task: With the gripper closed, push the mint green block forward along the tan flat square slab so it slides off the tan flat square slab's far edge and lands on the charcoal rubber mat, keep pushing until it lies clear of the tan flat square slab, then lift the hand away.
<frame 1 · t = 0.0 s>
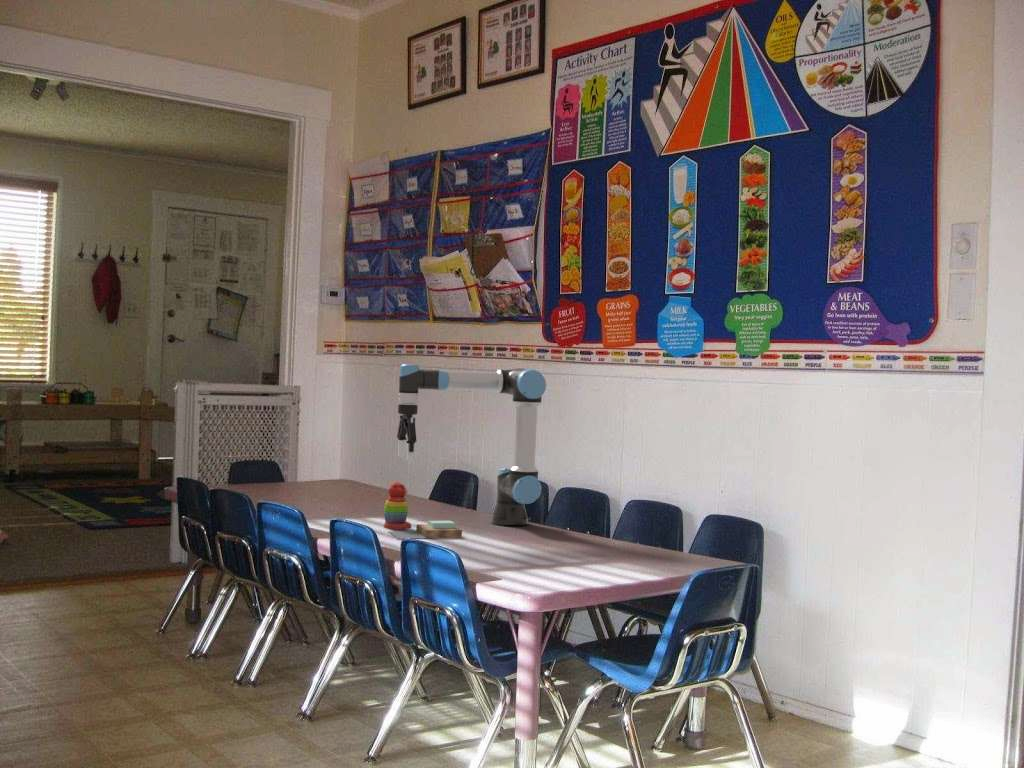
hand: (405, 458, 428), 28 cm above the table, tool pointing down, fingers open, 13 cm apart
mint green block: (441, 527, 422), point 3 cm above the table, touching tan flat square slab
tan flat square slab: (438, 534, 422), on the table
mat: (407, 535, 417), on the table
stacking bear: (396, 527, 435), on the table
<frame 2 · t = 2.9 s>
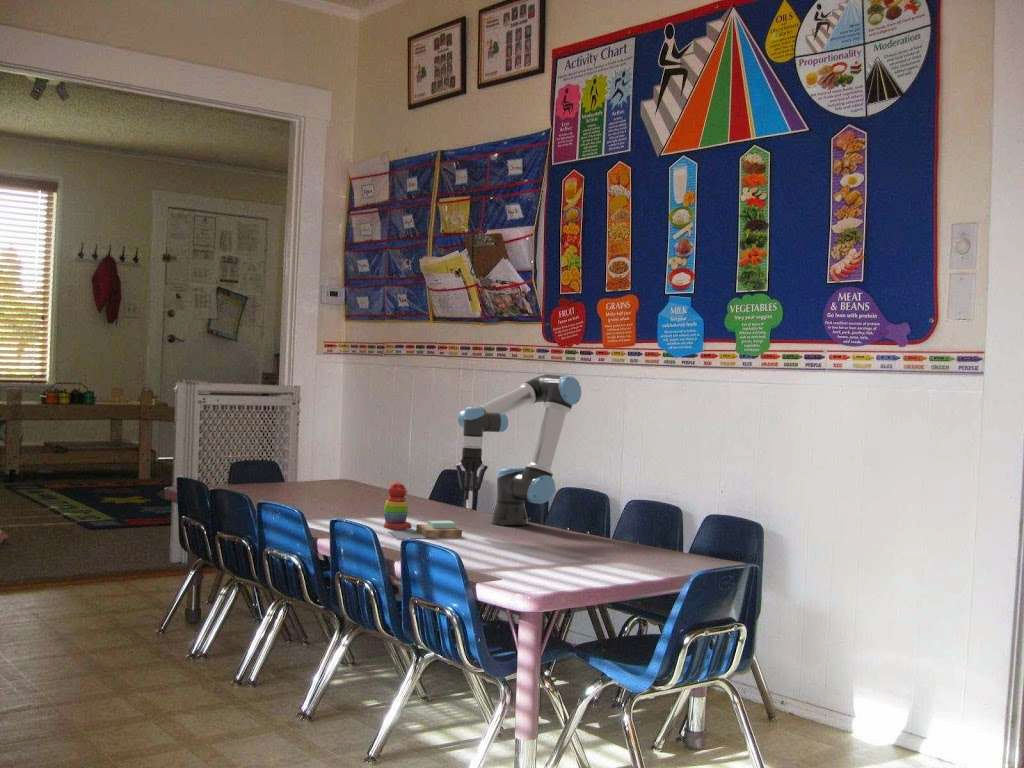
hand: (468, 508, 425), 10 cm above the table, tool pointing down, fingers closed
nothing on the table moved.
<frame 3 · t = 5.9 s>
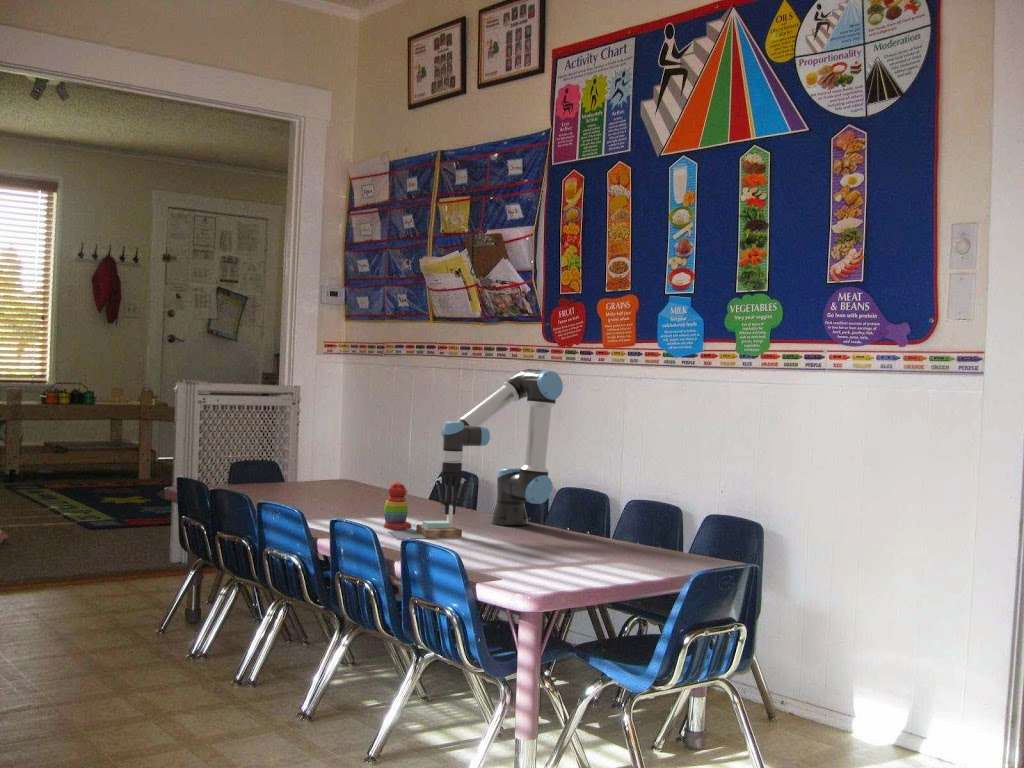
hand: (449, 522, 423), 5 cm above the table, tool pointing down, fingers closed
mint green block: (436, 527, 421), point 3 cm above the table, touching tan flat square slab
everything else where it was.
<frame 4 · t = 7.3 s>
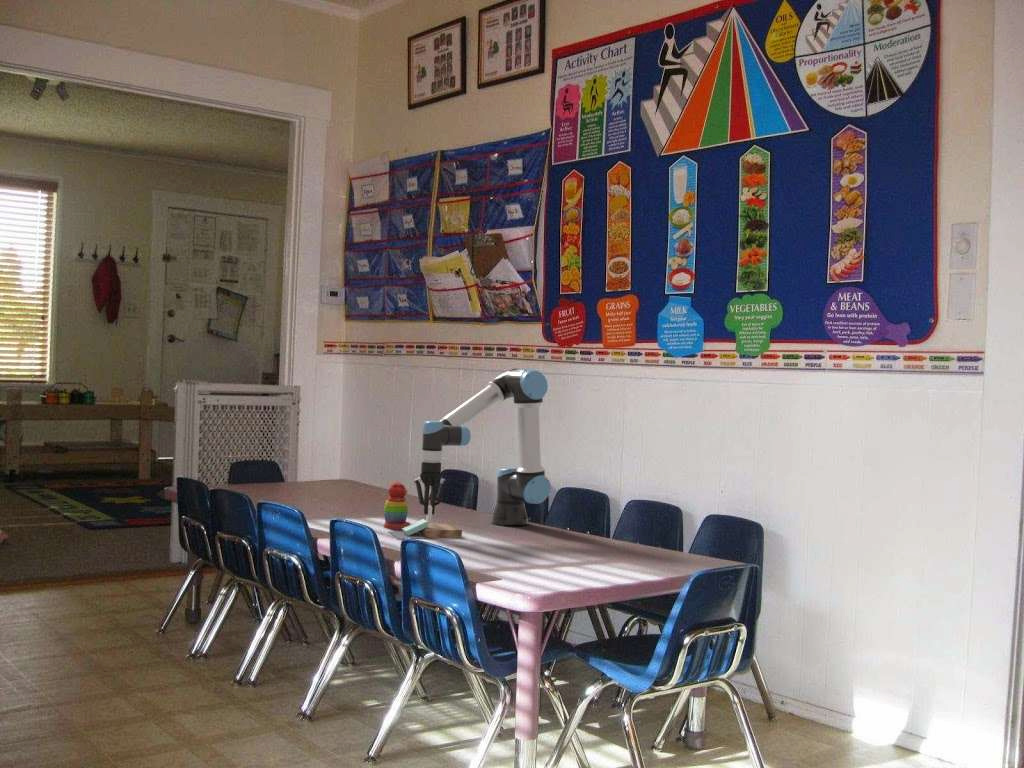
hand: (428, 523, 420), 5 cm above the table, tool pointing down, fingers closed
mint green block: (416, 529, 418), point 2 cm above the table, tilted 24°, touching tan flat square slab, gripper, mat
everything else where it was.
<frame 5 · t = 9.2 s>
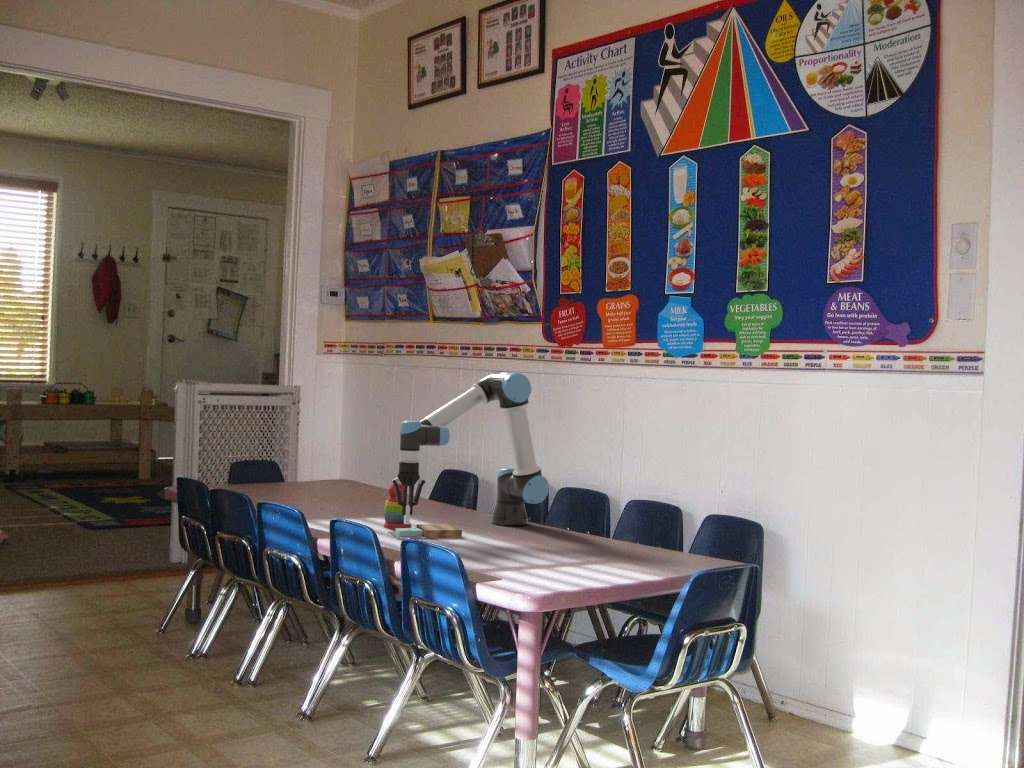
hand: (406, 523, 417), 5 cm above the table, tool pointing down, fingers closed
mint green block: (408, 534, 417), resting on mat
everything else where it was.
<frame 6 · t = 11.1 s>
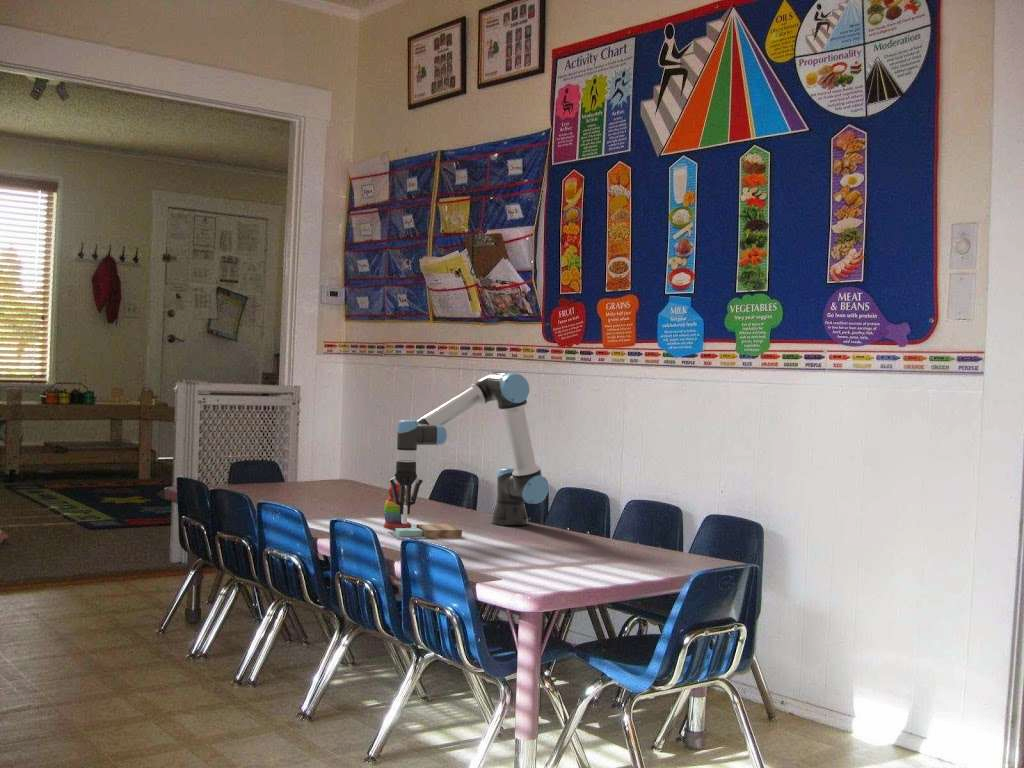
hand: (404, 523, 417), 5 cm above the table, tool pointing down, fingers closed
nothing on the table moved.
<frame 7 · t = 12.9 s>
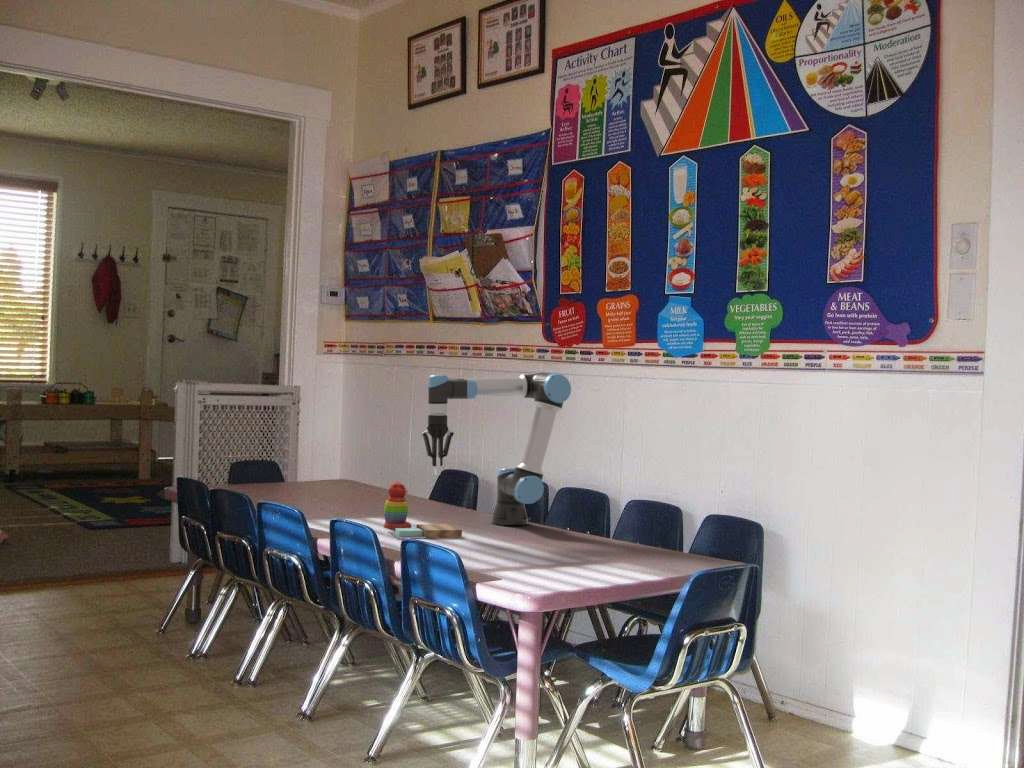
hand: (437, 474, 431), 22 cm above the table, tool pointing down, fingers closed
nothing on the table moved.
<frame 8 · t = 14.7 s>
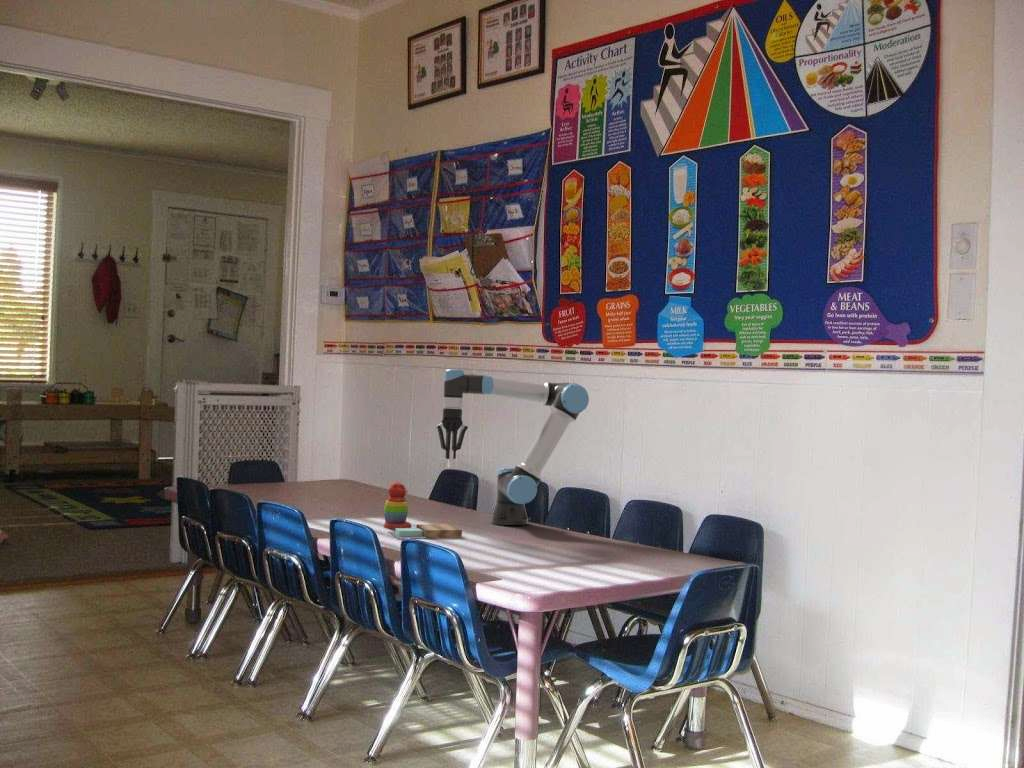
hand: (450, 467, 438), 24 cm above the table, tool pointing down, fingers closed
nothing on the table moved.
at the end: mint green block resting on mat; mint green block inside the target area on the mat (0.9 cm from its centre), point 0.3 cm above the mat's base; mint green block touching mat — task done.
